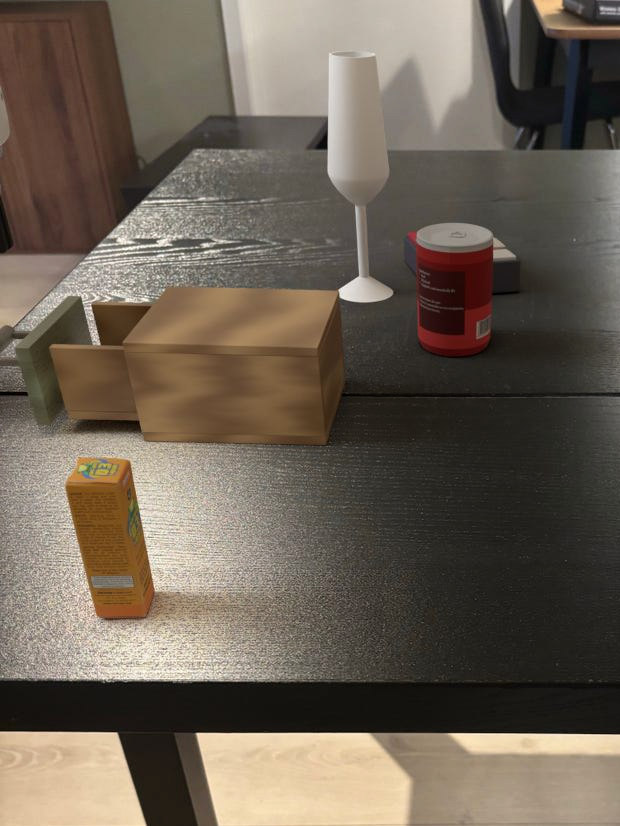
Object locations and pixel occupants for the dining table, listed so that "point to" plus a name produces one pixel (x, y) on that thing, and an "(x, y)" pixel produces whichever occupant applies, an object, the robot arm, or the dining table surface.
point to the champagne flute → (357, 153)
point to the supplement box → (110, 537)
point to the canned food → (454, 288)
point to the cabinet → (238, 365)
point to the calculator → (503, 264)
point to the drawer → (77, 361)
